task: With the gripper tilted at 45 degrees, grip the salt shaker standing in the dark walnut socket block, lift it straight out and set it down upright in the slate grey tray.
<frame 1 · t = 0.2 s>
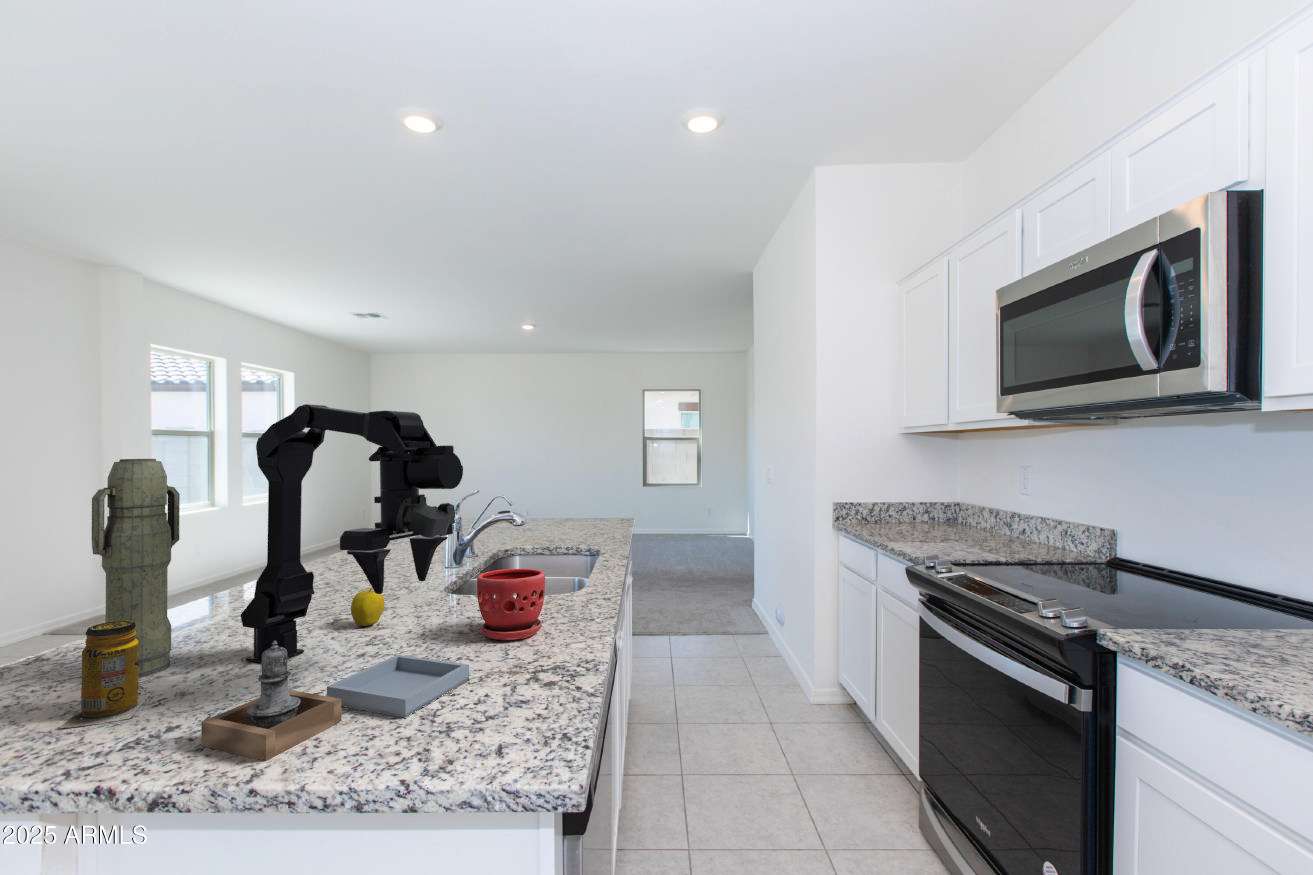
hand: (401, 587, 98), 14 cm above the countertop, tool pointing down, fingers open, 9 cm apart
thermos: (137, 671, 101), on the countertop
condiment: (106, 713, 85), on the countertop
socket block: (274, 732, 79), on the countertop
tray: (401, 691, 92), on the countertop
salt shaker: (274, 734, 79), on the countertop
plant pot: (511, 634, 120), on the countertop
apple: (367, 626, 126), on the countertop
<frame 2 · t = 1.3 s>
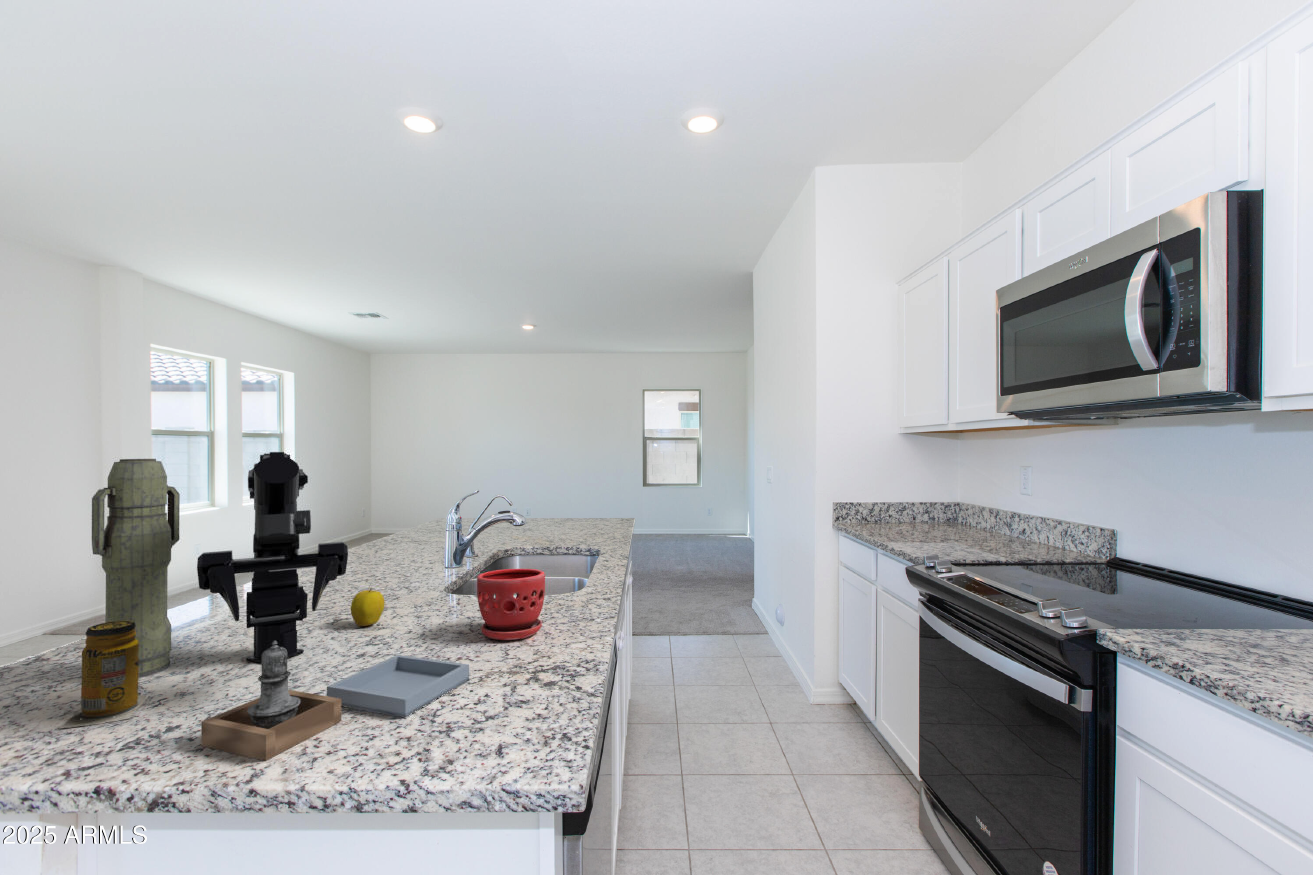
hand: (276, 614, 86), 13 cm above the countertop, tool tilted 45°, fingers open, 9 cm apart
nothing on the countertop moved.
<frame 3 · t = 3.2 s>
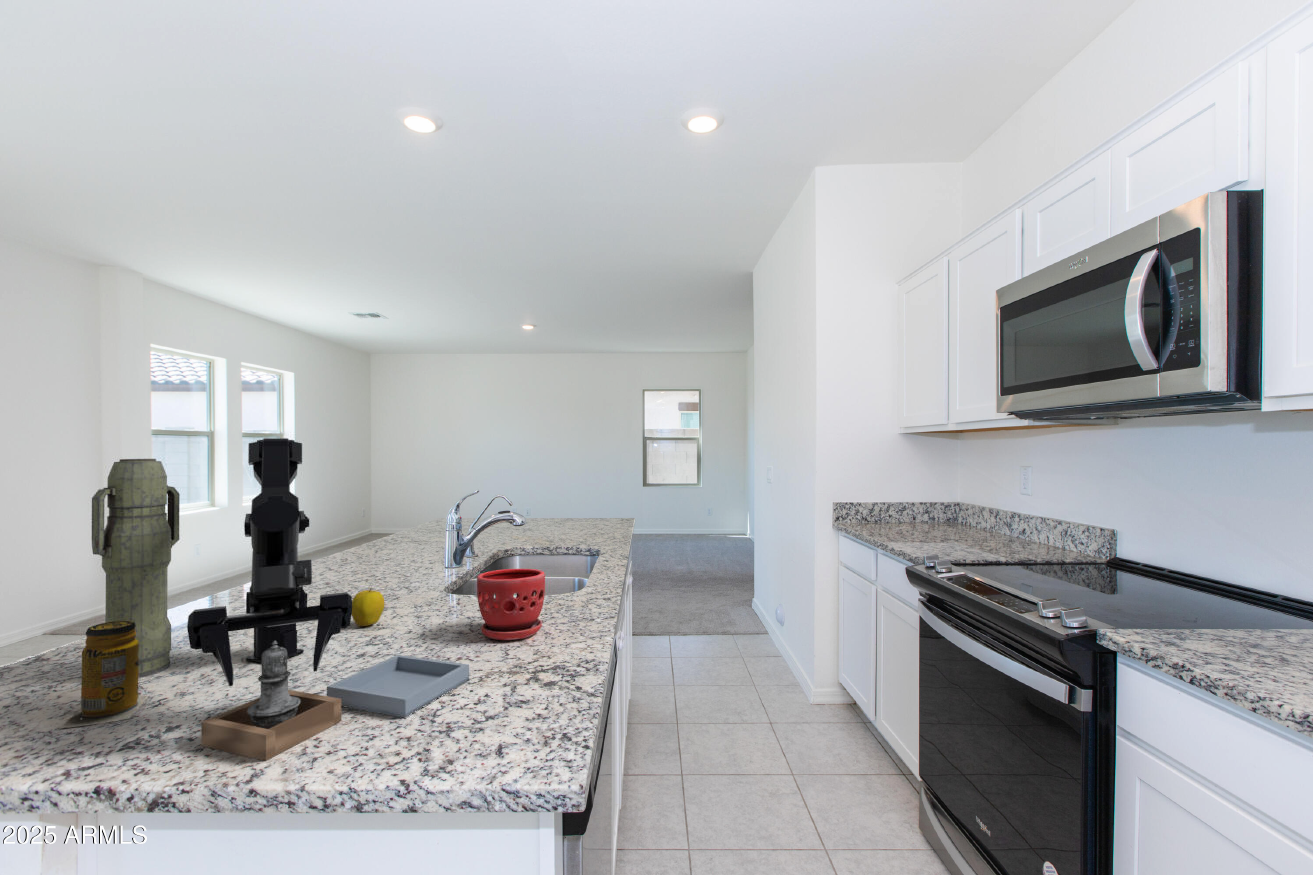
hand: (274, 676, 79), 7 cm above the countertop, tool tilted 45°, fingers open, 9 cm apart
nothing on the countertop moved.
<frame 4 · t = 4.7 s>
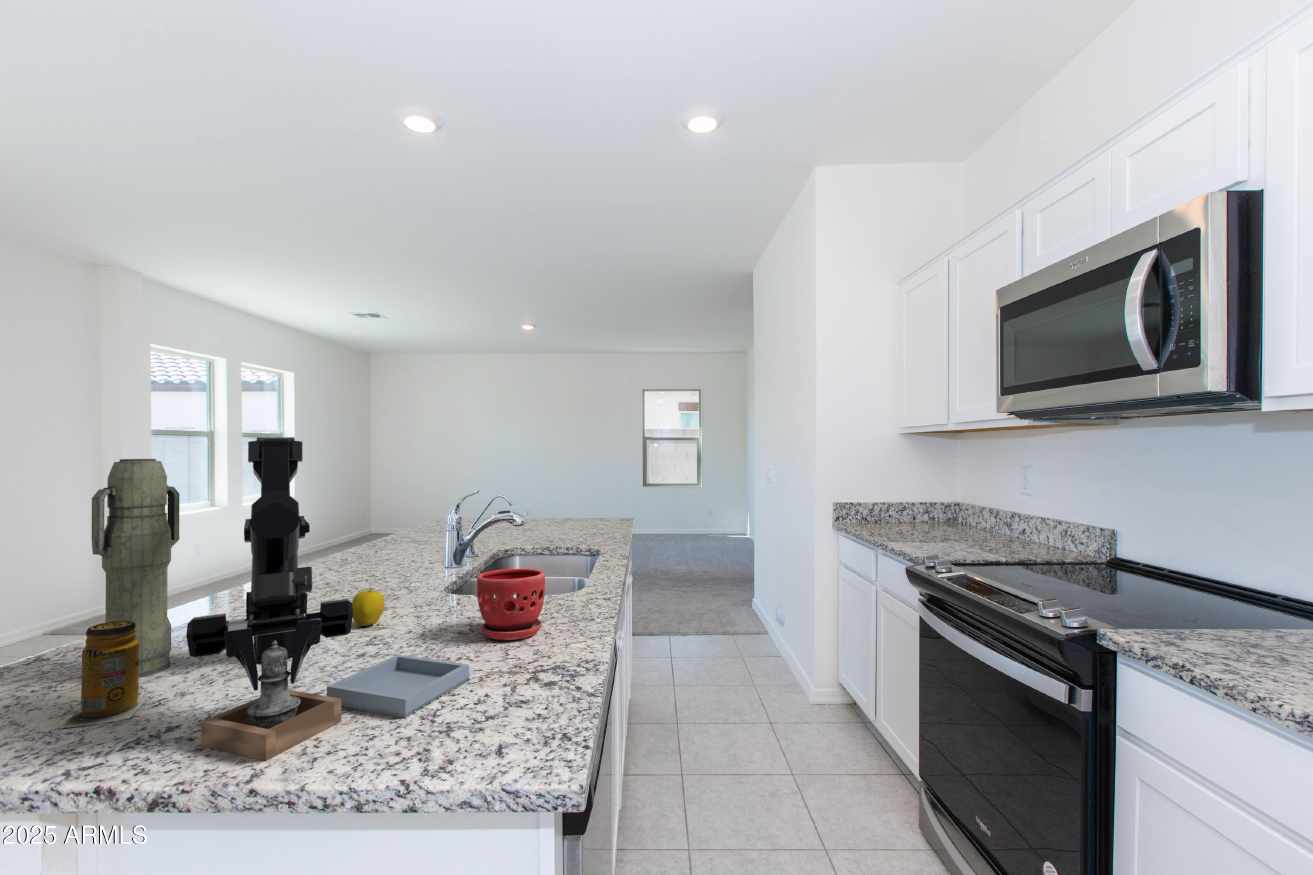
hand: (274, 685, 78), 7 cm above the countertop, tool tilted 45°, fingers closed on salt shaker, 4 cm apart
salt shaker: (274, 734, 79), on the countertop, touching gripper
everything else where it was.
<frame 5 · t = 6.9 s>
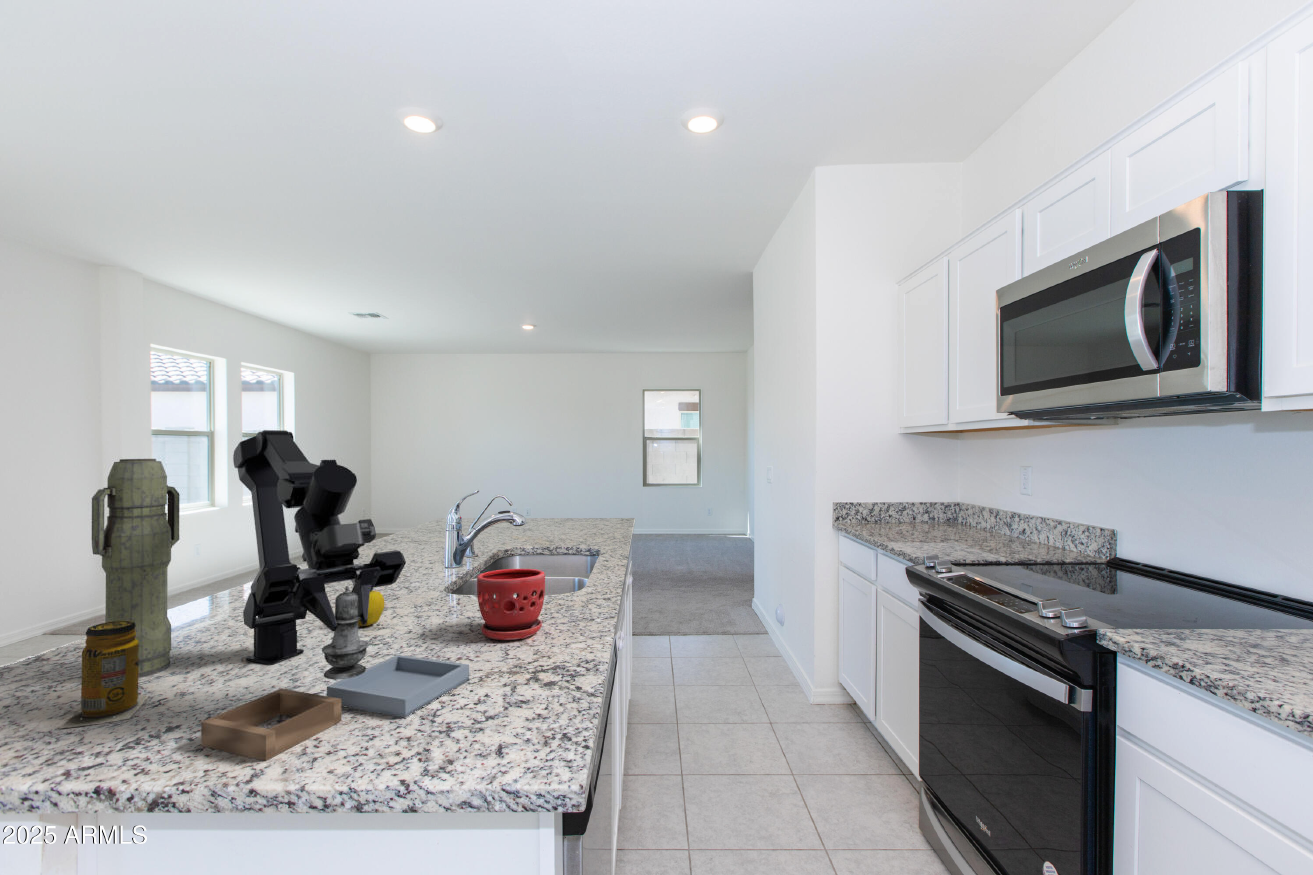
hand: (350, 626, 84), 12 cm above the countertop, tool tilted 45°, fingers closed on salt shaker, 4 cm apart
salt shaker: (345, 673, 85), point 5 cm above the countertop, touching gripper
everything else where it was.
when the fingers open (8 cm above the countertop, at t = 9.0 s): salt shaker stays where it is, resting on tray.
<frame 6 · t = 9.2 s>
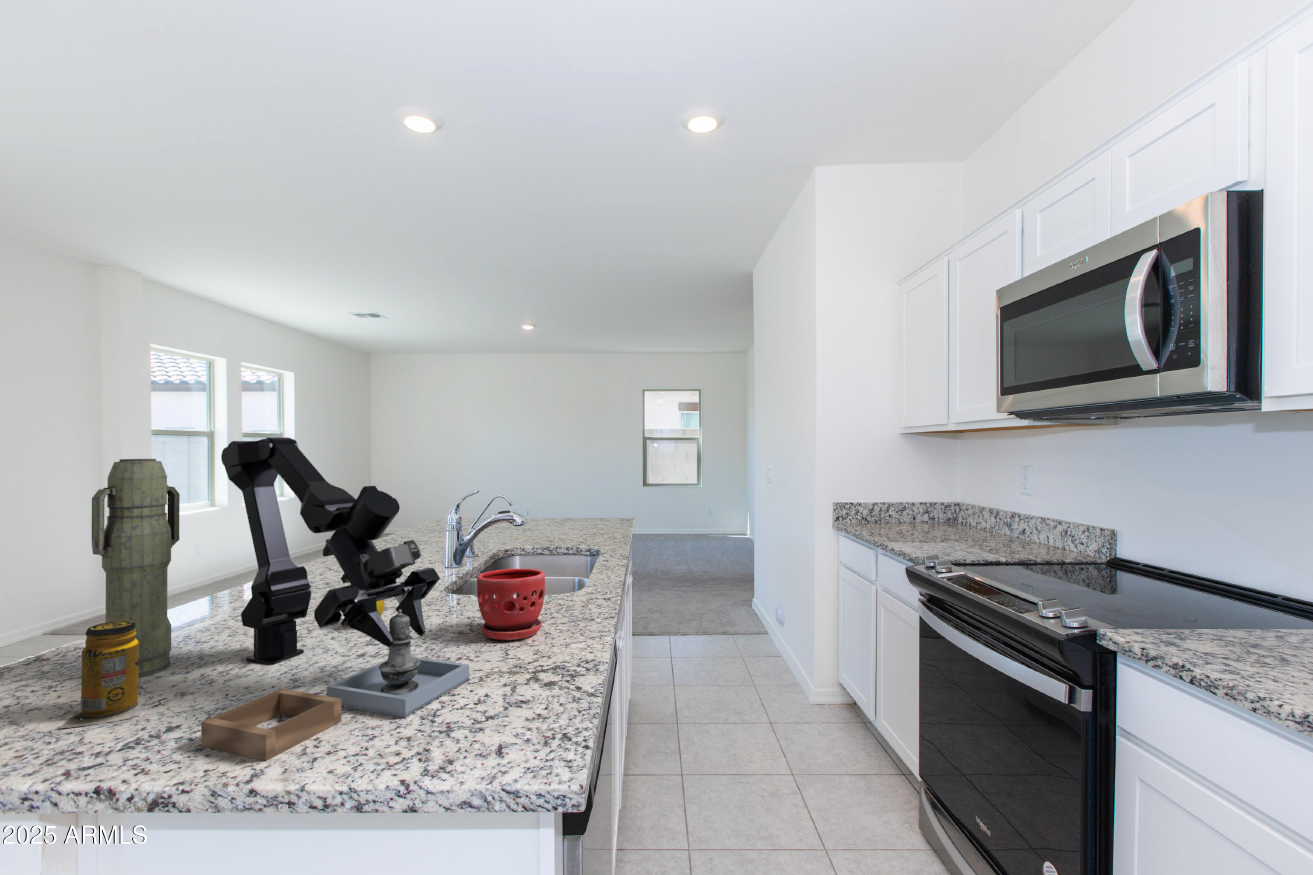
hand: (407, 639, 92), 8 cm above the countertop, tool tilted 45°, fingers open, 5 cm apart
salt shaker: (399, 689, 92), resting on tray
everything else where it was.
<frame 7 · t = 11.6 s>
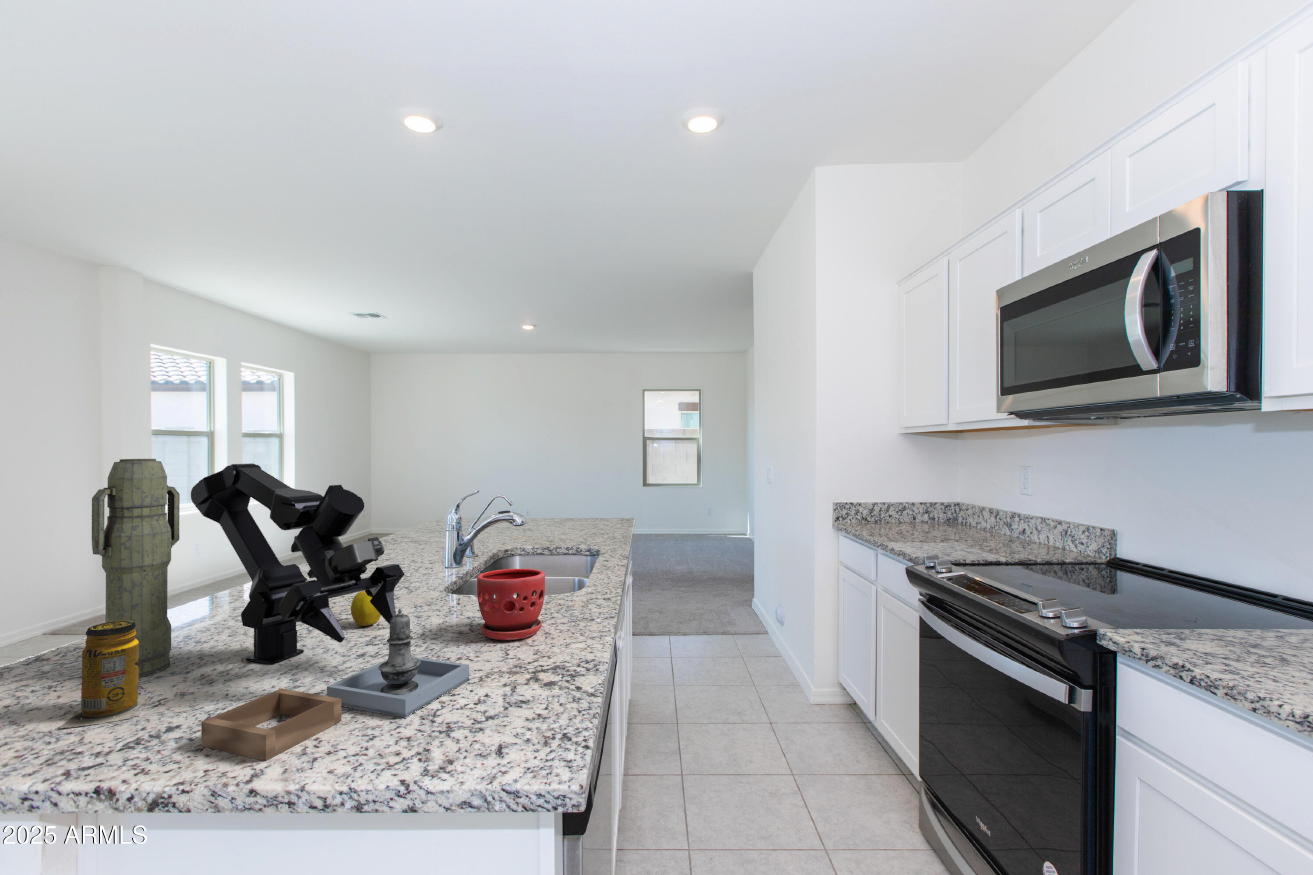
hand: (369, 632, 96), 8 cm above the countertop, tool tilted 45°, fingers open, 9 cm apart
nothing on the countertop moved.
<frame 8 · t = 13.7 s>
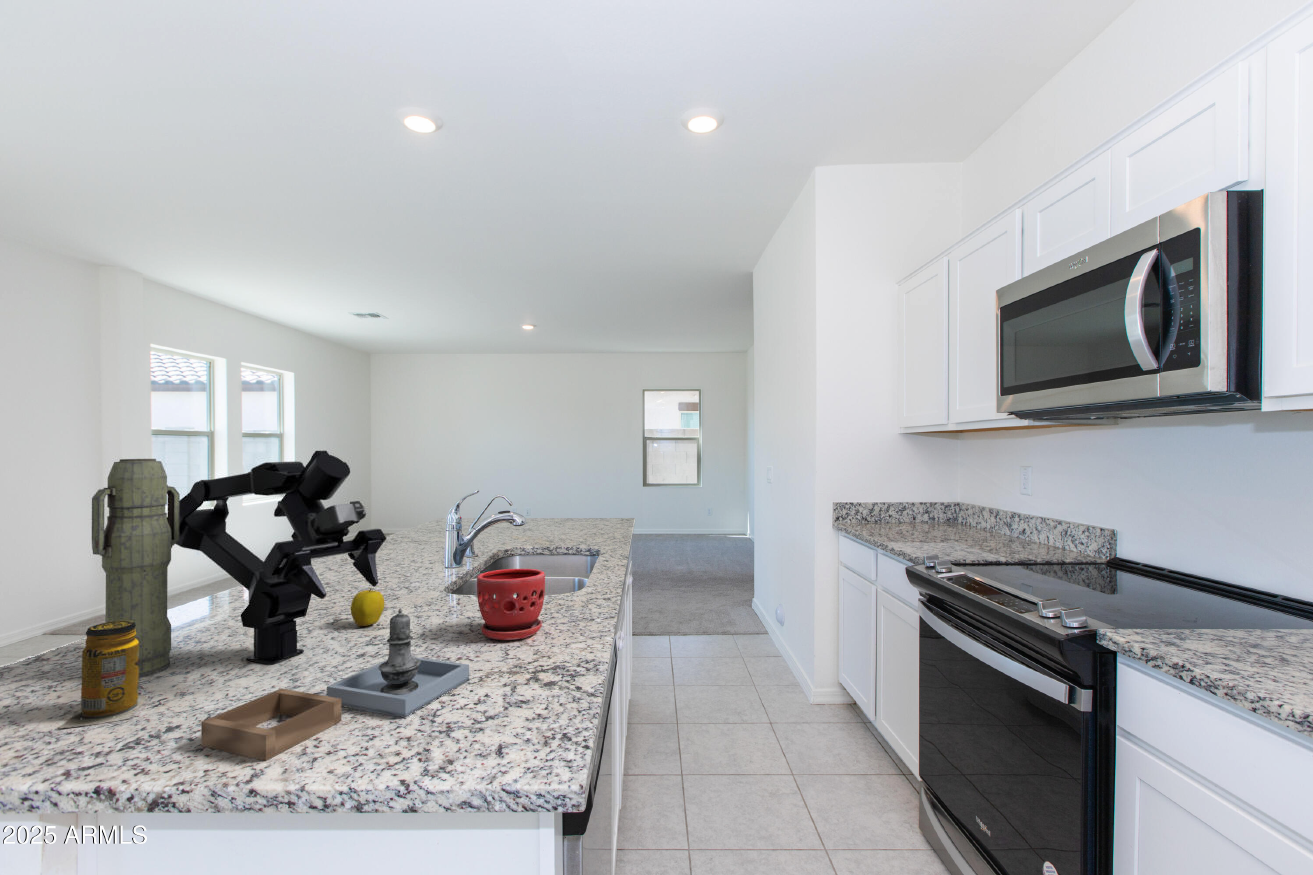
hand: (351, 590, 99), 14 cm above the countertop, tool tilted 45°, fingers open, 9 cm apart
nothing on the countertop moved.
at the end: salt shaker inside the target area on the tray (0.2 cm from its centre), point 0.3 cm above the tray's base; salt shaker tilted 0°; the gripper is holding nothing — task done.
